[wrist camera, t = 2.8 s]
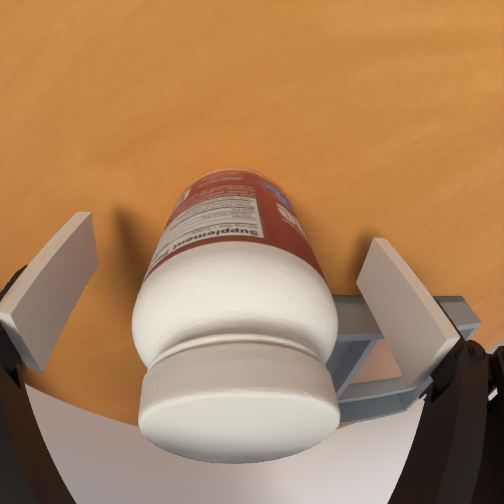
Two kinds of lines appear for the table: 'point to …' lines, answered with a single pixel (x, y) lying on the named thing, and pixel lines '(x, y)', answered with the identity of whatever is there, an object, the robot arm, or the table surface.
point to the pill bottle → (235, 328)
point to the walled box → (377, 360)
